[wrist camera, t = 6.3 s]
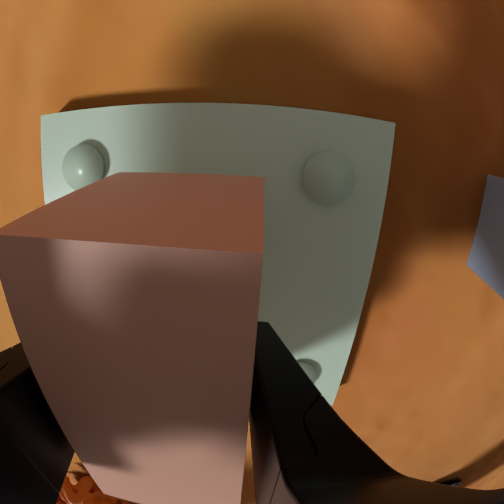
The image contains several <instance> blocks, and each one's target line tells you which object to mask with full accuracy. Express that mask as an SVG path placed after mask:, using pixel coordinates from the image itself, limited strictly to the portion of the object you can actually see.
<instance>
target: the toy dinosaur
mask: <svg viewBox="0 0 504 504" xmlns="http://www.w3.org/2000/svg"><path fill="white" fill-rule="evenodd" d="M56 504H138V503H136V502H132V501H128V500H124V499H120V498H117V497H113V496H110V495H107V494H104V493H103V492H102V491H101V489H100V488H99V486H98V485H97V484H96V482H95V481H94V479H93V478H92V477H91V476H83V477H82V478H81V479H80V480H79V481H78V483H77V484H76V485H72V484H71V483H70V480H69V478H68V477H67V476H65V479H64V482H63V485H62V488H61V491H60V493H59V497H58V500H57V503H56Z"/></svg>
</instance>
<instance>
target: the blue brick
mask: <svg viewBox="0 0 504 504" xmlns="http://www.w3.org/2000/svg"><path fill="white" fill-rule="evenodd" d="M467 266H468V267H469V268H470V269H472V270H473V271H474V272H475V273H476V274H477V275H478V276H479V277H480V278H482V279H483V280H484V281H485V282H486V283H487V284H488V285H489V286H490V287H491V288H492V289H493V290H494V291H496V292H497V293H498V294H499V295H500V296H501V297H502V298H503V299H504V178H500V177H497V176H493V175H490V174H487V180H486V186H485V191H484V197H483V202H482V207H481V211H480V216H479V220H478V225H477V229H476V233H475V237H474V241H473V244H472V248H471V252H470V255H469V259H468V262H467Z"/></svg>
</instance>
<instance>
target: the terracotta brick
mask: <svg viewBox="0 0 504 504" xmlns="http://www.w3.org/2000/svg"><path fill="white" fill-rule="evenodd" d="M264 191H265V177H254V176H238V175H220V174H197V173H160V172H118V173H115V174H113V175H110V176H108V177H106V178H103V179H101V180H98V181H96V182H94V183H91V184H89V185H87V186H85V187H82V188H80V189H78V190H76V191H73V192H71V193H69V194H67V195H65V196H63V197H61V198H58V199H56V200H54V201H52V202H50V203H48V204H46V205H44V206H42V207H40V208H38V209H36V210H34V211H32V212H30V213H28V214H26V215H24V216H22V217H20V218H18V219H17V220H15V221H13V222H11V223H9V224H7V225H5V226H4V227H2V228H0V279H1V282H2V286H3V290H4V293H5V297H6V300H7V303H8V306H9V310H10V313H11V316H12V319H13V322H14V325H15V327H16V330H17V333H18V336H19V338H20V341H21V344H22V346H23V349H24V351H25V354H26V356H27V359H28V361H29V364H30V366H31V368H32V371H33V373H34V375H35V377H36V380H37V382H38V384H39V386H40V388H41V390H42V392H43V395H44V397H45V399H46V401H47V403H48V405H49V407H50V408H51V410H52V412H53V414H54V416H55V418H56V420H57V422H58V423H59V425H60V427H61V429H62V431H63V432H64V434H65V436H66V437H67V439H68V441H69V443H70V444H71V446H72V448H73V449H74V451H75V452H76V454H77V456H78V457H79V459H80V460H81V462H82V463H83V465H84V466H85V468H86V469H87V471H88V472H89V474H90V475H91V477H92V478H93V479H94V481H95V482H96V484H97V485H98V486H99V488H100V489H101V491H102V492H103V493H104V494H107V495H110V496H113V497H117V498H120V499H124V500H128V501H132V502H136V503H140V504H240V502H241V492H242V483H243V473H244V463H245V453H246V443H247V432H248V422H249V411H250V401H251V390H252V379H253V368H254V357H255V346H256V335H257V323H258V312H259V300H260V288H261V276H262V264H263V245H264Z"/></svg>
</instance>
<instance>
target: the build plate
mask: <svg viewBox="0 0 504 504" xmlns="http://www.w3.org/2000/svg"><path fill="white" fill-rule="evenodd" d="M394 133H395V123H393V122H388V121H383V120H378V119H373V118H367V117H361V116H355V115H349V114H342V113H335V112H328V111H321V110H312V109H303V108H294V107H283V106H271V105H256V104H237V103H155V104H136V105H122V106H110V107H99V108H90V109H82V110H74V111H67V112H60V113H53V114H47V115H41V158H42V176H43V189H44V199H45V205H46V204H48V203H50V202H52V201H54V200H56V199H58V198H61V197H63V196H65V195H67V194H69V193H71V192H73V191H76V190H78V189H80V188H82V187H85V186H87V185H89V184H91V183H94V182H96V181H98V180H101V179H103V178H106V177H108V176H110V175H113V174H115V173H118V172H160V173H197V174H220V175H238V176H254V177H265V191H264V245H263V264H262V276H261V288H260V300H259V312H258V321H263V322H269V323H270V325H271V326H272V328H273V329H274V330H275V332H276V333H277V334H278V336H279V337H280V339H281V340H282V341H283V343H284V344H285V345H286V347H287V348H288V350H289V351H290V352H291V354H292V355H293V356H294V358H295V359H296V360H297V362H298V363H299V364H300V366H301V367H302V368H303V370H304V371H305V373H306V374H307V375H308V377H309V378H310V379H311V381H312V382H313V383H314V385H315V386H316V387H317V389H318V390H319V391H320V393H321V394H322V396H324V398H325V399H326V400H327V402H328V403H329V404H330V405H333V403H334V400H335V397H336V394H337V391H338V388H339V385H340V382H341V379H342V376H343V373H344V370H345V367H346V364H347V361H348V357H349V354H350V351H351V347H352V344H353V341H354V337H355V334H356V330H357V327H358V323H359V319H360V316H361V312H362V308H363V304H364V300H365V296H366V292H367V288H368V284H369V280H370V276H371V271H372V267H373V262H374V258H375V253H376V248H377V243H378V238H379V233H380V228H381V223H382V217H383V212H384V206H385V200H386V194H387V187H388V181H389V174H390V167H391V159H392V151H393V142H394Z"/></svg>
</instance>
